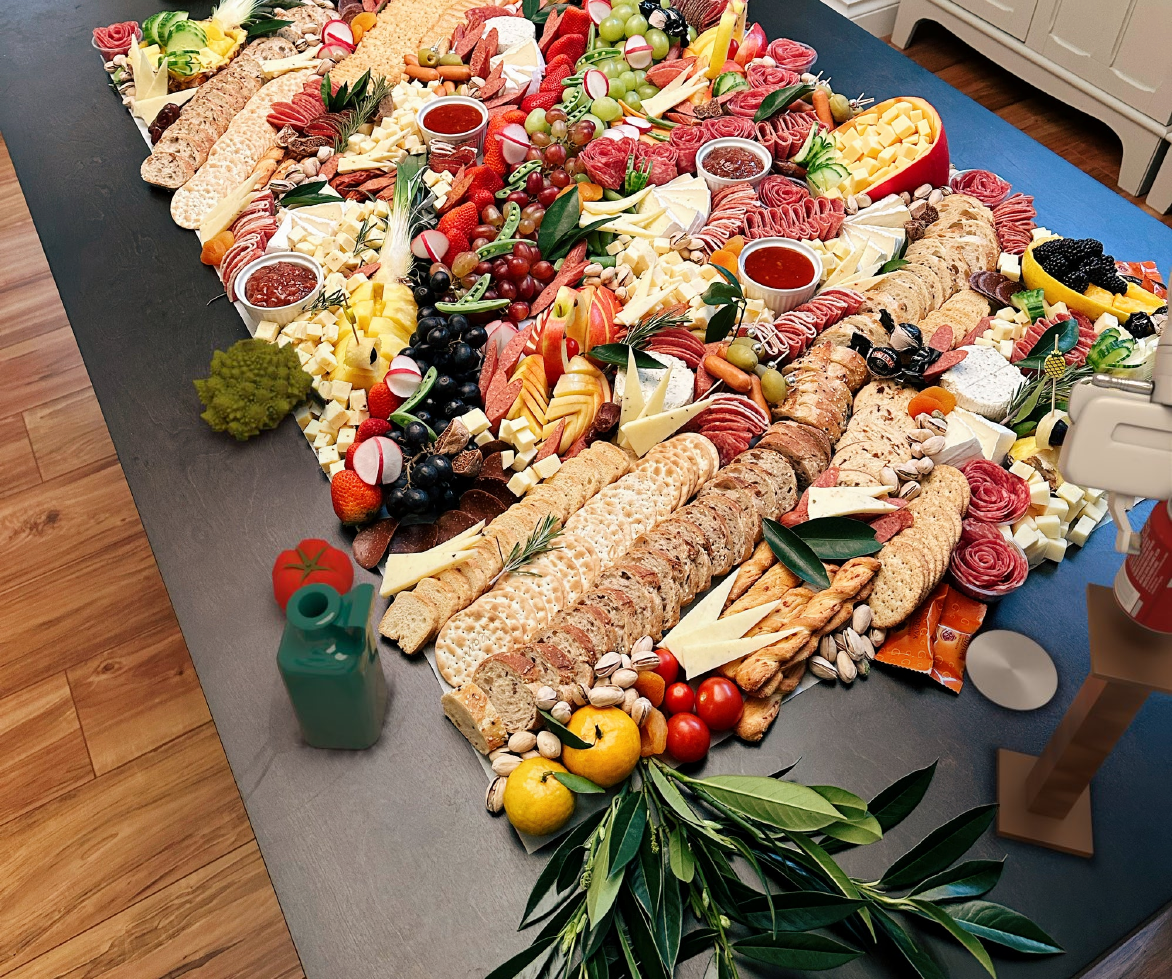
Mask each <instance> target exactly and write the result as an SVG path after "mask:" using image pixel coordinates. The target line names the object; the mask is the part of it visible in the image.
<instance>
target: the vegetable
mask: <svg viewBox="0 0 1172 979" xmlns="http://www.w3.org/2000/svg"><path fill="white" fill-rule="evenodd" d="M226 350H227V351H226V352H223V351H221V350H219V349H217V350H214V352H213V356H212V361H209V364H210V368H209V370H210V372H208V374H209V375H210V377H209V378H203V379H195V380H192V383H193V385H194V387H195V389H196V391H197V393H198V394H197V396H198V397H199V400H201V404H202V405H205V406H206V410H205V412H203V413H201V414H200V415H199V416H200V417H201V418H202V419H203V420H204V421H205V422H206V423H207V424H208V425H209V426H210V427H211V429H212V430H211V432H217V433H222V432H226V431H227V432H228V433H230V435H233V436H235V437H236V440H237V441H239V442H246V441H248V439H249V437H250V436H256V435H259V434H260V430H269V429H276V428H278V426H279V423H280V422H281V421H282V420H283V419H284V418H285V417H286V416H287V415H289V414H290V413H296V412H297V411H298V409H301V408H304V407H306V406H309V405H310V404H311V403H313V404H314V405H316V407H317V408H318V409H320V410H321V411H325V410H327V409H326V407H327V403H328V400H327V399H326V398H324V397H323V396H322V394H321V393H320V392H319V390H318V389H317V388H315V387H314V386H313V383H314V381H315V377H314V376H313V375H312V374H311V373H310V372H309V371H307V370H304V369H303V366H302V362H301V359H300V355H299V352H298V350H297V351H295V347H294V344H293V343H292V342H291V341H290V340H288V342H286V343H285V344H283V345H282V347H280V345H279V341H275V342H273V343H270V342H267V339H266V340H264V338H260V337H259V338H257V339H255V337H252V338H246V339H241V340H240V339H238V341H237V342H234V346H228V348H227V349H226Z"/></svg>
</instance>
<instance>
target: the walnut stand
mask: <svg viewBox="0 0 1172 979" xmlns="http://www.w3.org/2000/svg"><path fill="white" fill-rule="evenodd" d="M1085 595H1086V598H1085V599H1086V611H1087V627H1088V641H1089V656H1090V671H1089V673H1088V675H1087V677H1086V678H1085V679H1084V681H1083V683H1082V684H1081V686H1080V688H1079V689H1078V691H1077V693H1076V695H1075V696H1074V698H1073V700H1072V701H1071V703H1070V705H1069V707H1068V708H1067V710H1066V712H1065V713H1064V715H1063V717H1062V718H1061V719H1060V722H1059V723H1058V724H1057V726H1056V728H1055V730H1054V731H1053V733H1052V734H1051V737H1050V738H1049V740H1048V741H1047V743H1046V745H1045V746H1044V748H1043V749H1042V752H1041V753H1040V754H1039V756H1035V755H1030V754H1026V753H1022V752H1019V751H1013V750H1009V749H1005V748H1001V747H999V749H998V750H997V752H996V804H997V803H998V804H1000V807H998V811H997V810H996V836H999V837H1001V838H1007V839H1010V840H1013V841H1014V840H1015V841H1017V842H1018V841H1019V842H1021V843H1026V844H1030V845H1035V846H1038V847H1043V848H1046V849H1050V850H1054V851H1058V852H1061V853H1062V852H1063V853H1065V854H1070V855H1074V856H1079V857H1082V858H1085V859H1086V858H1087V859H1091V858H1092V856H1093V855H1094V843H1093V842H1094V841H1093V827H1092V826H1093V825H1092V824H1093V823H1092V810H1091V809H1092V808H1091V807H1092V806H1091V791H1090V782H1091V781H1092V780H1093V779H1094V777H1095V775H1096V774H1097V772H1098V771H1099V769H1100V768H1101V766H1102V765H1103V764H1104V762H1105V761H1106V759H1107V758H1108V757H1109V755H1110V754H1111V752H1112V751H1113V750H1114V748H1115V747H1116V745H1117V743H1118V742H1119V741H1120V739H1121V737H1122V736H1123V735H1124V733H1125V732H1126V731H1127V729H1128V727H1129V726H1130V725H1131V723H1132V722H1133V720H1134V718H1135V717H1136V716H1137V714H1138V713H1139V711H1140V710H1141V708H1142V707H1143V705H1144V704H1145V702H1146V701H1147V700H1148V698H1149V697H1150V695H1151V694H1152V692H1155V693H1161V694H1165V695H1170V696H1172V634H1163V633H1158V632H1154V631H1151V630H1149V629H1146V628H1144V627H1142V626H1141V625H1139V624H1137V623H1136V622H1134V621H1133V620H1132V619H1130V618H1129V617H1128V616H1127V615H1126V614H1125V613H1124V612H1123V610H1122V609H1121V608H1120V606H1119V605H1118V603H1117V601H1116V599H1115V596H1114V592H1113V586H1106V585H1102V584H1098V583H1097V584H1096V583H1092V582H1088V583H1087V585H1086V586H1085Z"/></svg>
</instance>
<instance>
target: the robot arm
mask: <svg viewBox="0 0 1172 979" xmlns="http://www.w3.org/2000/svg"><path fill="white" fill-rule="evenodd" d="M1166 301H1167V319H1166V323H1165V326H1164V328H1163V330H1162V333H1161V334H1160V336H1159V338H1158V341H1157V345H1156V350H1155V354H1154V355H1155V356H1154V361H1153V368H1152V373H1151V379H1150V380H1147V379H1139V378H1133V377H1120V376H1114V375H1111V374H1108V373H1103V372H1094V373H1093V374H1092V375H1090V376H1085V377H1081V378H1080V379H1077V381H1075V382H1074V383H1073V385H1072V387H1071V388H1070V390H1069V394H1068V399H1067V405H1066V414H1067V417H1068V420H1069V424H1068V427H1067V429H1066V432H1065V436H1064V439H1063V441H1062V445H1061V449H1060V453H1059V457H1058V461H1057V472H1058V474H1059V475H1060V476H1061V478H1062V481H1064V482H1065V483H1067V484H1069V485H1073V486H1078V487H1082V488H1087V489H1093V490H1099V491H1103V492H1108V496H1107V503H1106V506H1107V508H1108V510H1109V513H1110V516H1111V518H1112V520H1113V523H1114V525H1115V528H1116V529H1117V533H1116V537H1115V545H1114V550H1115V552H1117V553H1119V554H1123V555H1134V556H1139V555H1140V553H1141V547H1140V545H1141V544H1142V539H1143V535H1142V534H1140V532H1138V531H1133V528H1132V525H1131V523H1130V520H1129V518H1128V515H1127V512H1126V510H1127V511H1132V510H1133V509H1134V504H1135V499H1136V498H1141V499H1147V500H1152V501H1157V502H1159V501H1166V500H1168V499H1169V498H1170V496H1171V495H1172V266H1171V267H1170V273H1169V276H1168V282H1167V287H1166ZM1089 382H1090V384H1091V385H1089V384H1086V383H1089Z"/></svg>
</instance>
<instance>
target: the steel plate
mask: <svg viewBox="0 0 1172 979" xmlns="http://www.w3.org/2000/svg"><path fill="white" fill-rule="evenodd" d="M964 662H965V664H964V666H965V670H966V673H967V676H968V678H969V680H970V682H971V683H972V686H974V688H975V689H976V691H978V693H979V694H981V696H982V697H984V698H985V699H986V700H988V701H990V702H991V703H992V704H994V705H996V706H998V707H1001V708H1003V709H1005V710H1009V711H1015V712H1030V711H1031V712H1032V711H1035V710H1038V709H1041V708H1043V707H1045V706H1046V705H1047V704H1048V703H1049V702H1050V701H1051V700H1052V698H1053V697H1054V695H1055V693H1056V691H1057V688H1058V682H1059V681H1058V672H1057V669H1056V666H1055V663H1054V662H1053V660H1052V658H1051V657H1050V655H1049V654H1048V653H1047V651H1045V649H1044V648H1043V647H1042V646H1041V645H1040V644H1038V643H1037V642H1036V641H1035V640H1033V639H1032V638H1029V637H1028V636H1026V635H1024V634H1022V633H1019V632H1017V631H1012V630H1006V629H993V630H988V631H985V632H983V633H981V634H979V635H978V636H976V637H975V638H974V639H973V640H972V641H971V642H970V644H969V646H968V647H967V649H966V653H965V658H964Z"/></svg>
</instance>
